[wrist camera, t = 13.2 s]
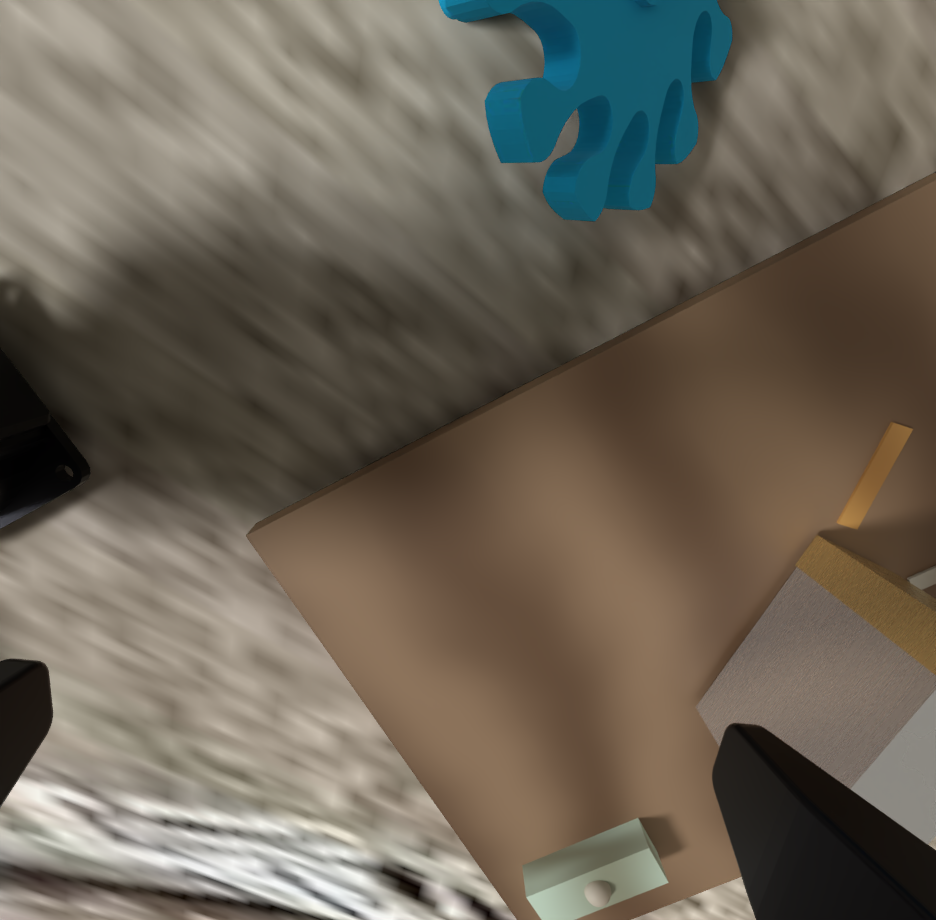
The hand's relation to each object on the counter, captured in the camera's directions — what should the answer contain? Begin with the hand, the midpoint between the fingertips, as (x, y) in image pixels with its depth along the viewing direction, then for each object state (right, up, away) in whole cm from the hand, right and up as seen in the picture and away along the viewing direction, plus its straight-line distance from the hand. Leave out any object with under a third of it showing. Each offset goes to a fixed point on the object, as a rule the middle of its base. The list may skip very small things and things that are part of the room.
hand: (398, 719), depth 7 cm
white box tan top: (+12, -3, +11) cm, 17 cm away
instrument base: (+10, -3, +13) cm, 16 cm away
